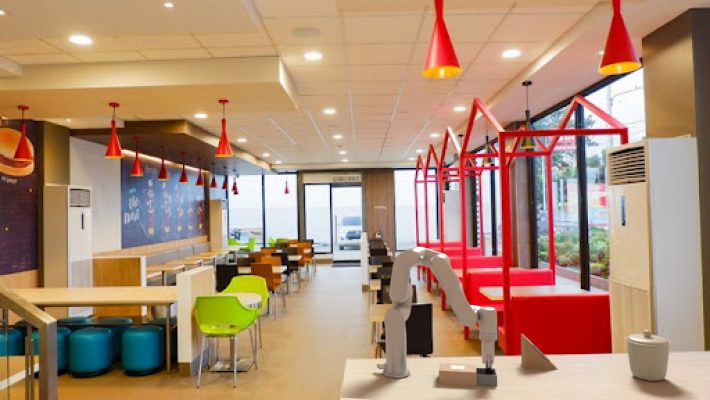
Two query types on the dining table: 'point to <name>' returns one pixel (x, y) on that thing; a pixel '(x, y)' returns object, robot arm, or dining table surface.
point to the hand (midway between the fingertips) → (488, 377)
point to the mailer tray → (486, 377)
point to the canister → (648, 355)
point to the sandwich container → (533, 356)
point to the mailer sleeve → (457, 374)
